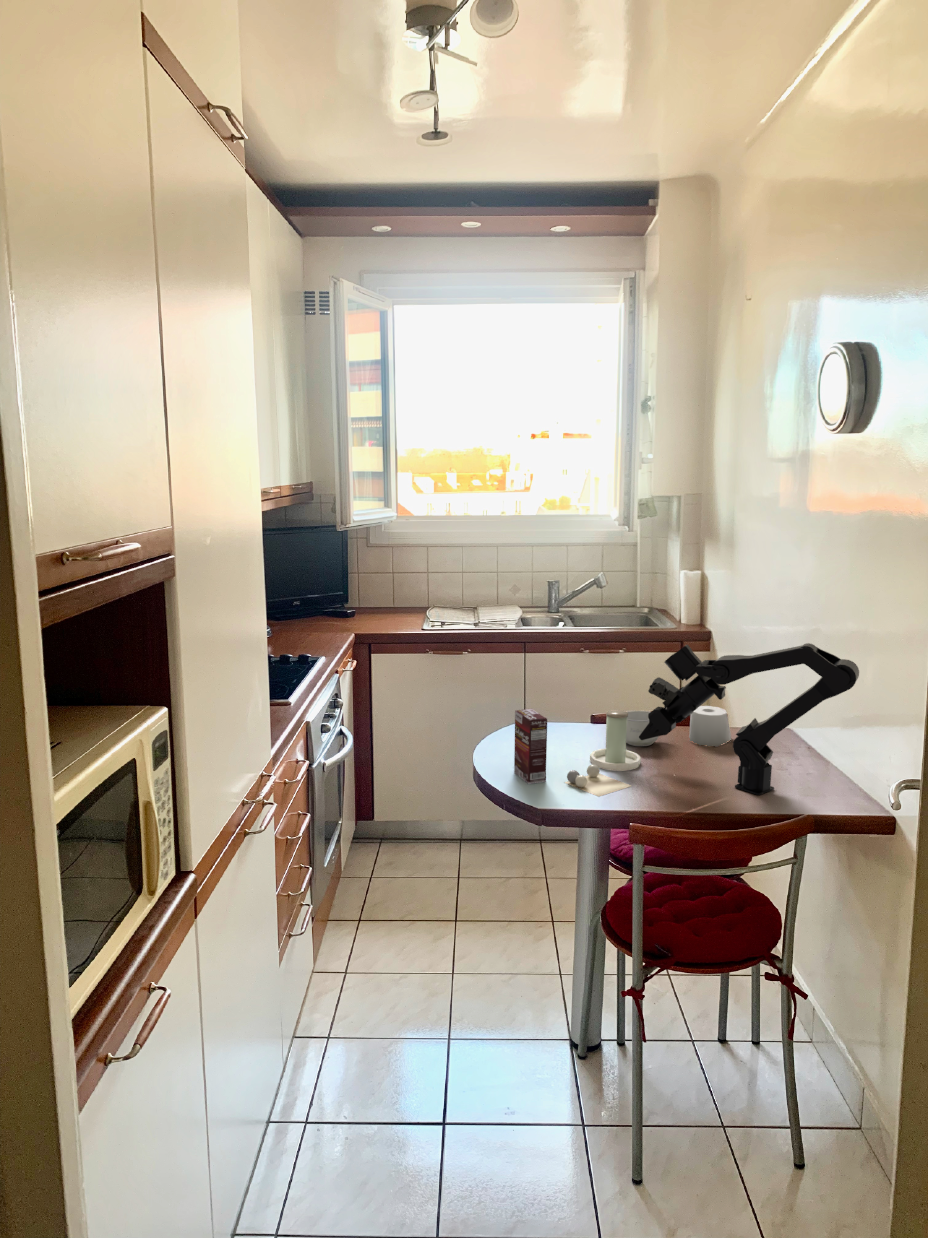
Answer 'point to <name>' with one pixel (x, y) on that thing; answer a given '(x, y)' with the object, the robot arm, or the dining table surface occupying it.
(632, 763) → the round white tray
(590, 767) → the glossy white ball
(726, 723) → the toilet tissue
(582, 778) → the pebble
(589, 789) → the board
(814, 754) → the dining table surface
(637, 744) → the teacup
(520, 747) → the supplement box
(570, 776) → the pebble
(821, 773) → the dining table surface
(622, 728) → the pale green lidded canister
